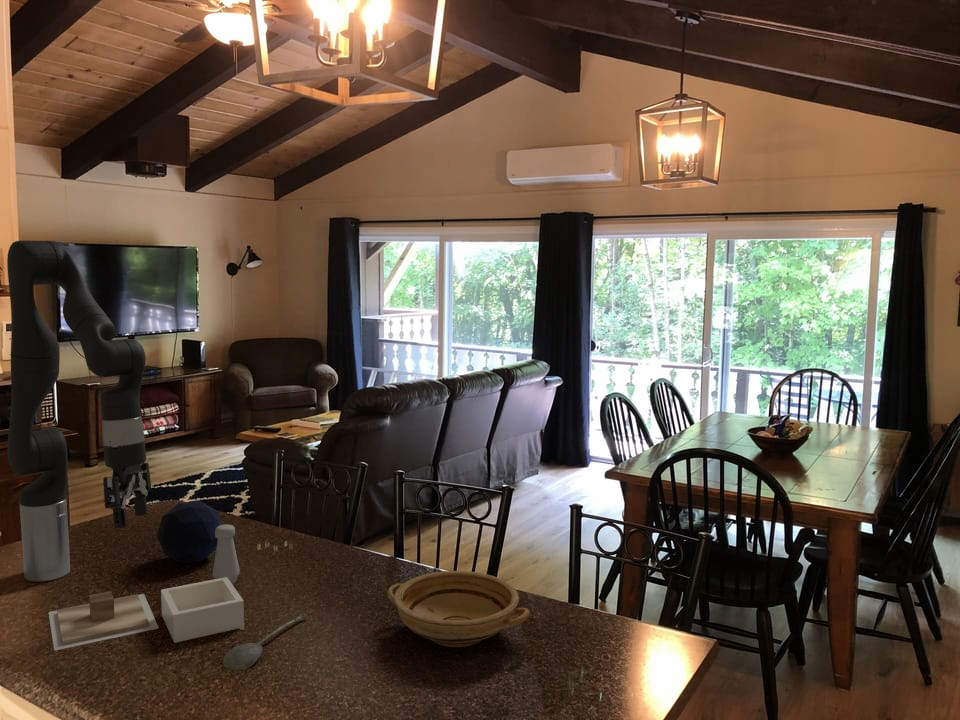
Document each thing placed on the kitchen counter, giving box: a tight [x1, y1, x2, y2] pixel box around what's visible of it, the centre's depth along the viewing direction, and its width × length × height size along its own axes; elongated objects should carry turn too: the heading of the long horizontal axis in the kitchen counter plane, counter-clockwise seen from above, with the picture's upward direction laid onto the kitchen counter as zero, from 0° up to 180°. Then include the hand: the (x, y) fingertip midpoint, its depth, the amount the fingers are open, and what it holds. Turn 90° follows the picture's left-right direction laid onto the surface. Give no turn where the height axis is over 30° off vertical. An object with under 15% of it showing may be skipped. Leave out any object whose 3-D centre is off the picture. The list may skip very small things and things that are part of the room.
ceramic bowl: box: [386, 570, 531, 648], centre depth 156 cm, size 30×24×8 cm
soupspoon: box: [222, 612, 308, 671], centre depth 152 cm, size 22×3×7 cm
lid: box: [56, 591, 149, 645], centre depth 158 cm, size 15×15×5 cm
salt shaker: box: [212, 524, 241, 585], centre depth 178 cm, size 6×6×13 cm
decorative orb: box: [156, 500, 223, 564], centre depth 190 cm, size 14×15×15 cm
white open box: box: [160, 577, 245, 644], centre depth 159 cm, size 13×13×6 cm
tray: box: [48, 593, 160, 652], centre depth 159 cm, size 18×18×1 cm
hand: (131, 521), depth 159 cm, fingers open, 8 cm apart
